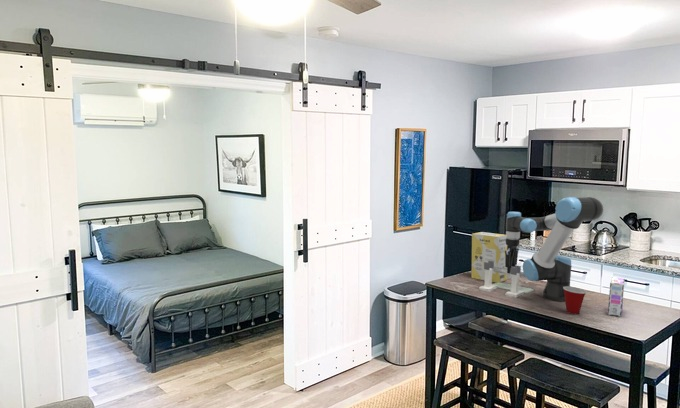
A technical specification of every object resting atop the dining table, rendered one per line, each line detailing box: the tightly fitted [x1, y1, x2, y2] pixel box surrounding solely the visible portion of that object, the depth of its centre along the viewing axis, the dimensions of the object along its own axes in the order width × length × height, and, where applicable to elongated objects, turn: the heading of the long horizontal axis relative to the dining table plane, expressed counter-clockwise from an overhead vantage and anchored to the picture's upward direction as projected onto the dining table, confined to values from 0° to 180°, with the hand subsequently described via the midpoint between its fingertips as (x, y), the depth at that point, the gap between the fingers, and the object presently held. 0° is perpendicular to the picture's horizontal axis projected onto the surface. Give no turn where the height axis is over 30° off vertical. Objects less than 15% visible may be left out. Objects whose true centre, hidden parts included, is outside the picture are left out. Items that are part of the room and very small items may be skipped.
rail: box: [493, 267, 527, 279], centre depth 292 cm, size 20×3×3 cm, turn 47°
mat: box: [492, 282, 535, 295], centre depth 292 cm, size 22×10×1 cm, turn 47°
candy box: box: [607, 276, 625, 318], centre depth 249 cm, size 14×6×16 cm, turn 148°
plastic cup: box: [563, 286, 588, 315], centre depth 249 cm, size 11×11×12 cm
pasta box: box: [471, 231, 508, 283], centre depth 310 cm, size 18×10×28 cm, turn 41°
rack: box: [478, 261, 525, 298], centre depth 283 cm, size 22×10×16 cm, turn 47°
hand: (510, 277), depth 292 cm, fingers closed on rail, 3 cm apart
